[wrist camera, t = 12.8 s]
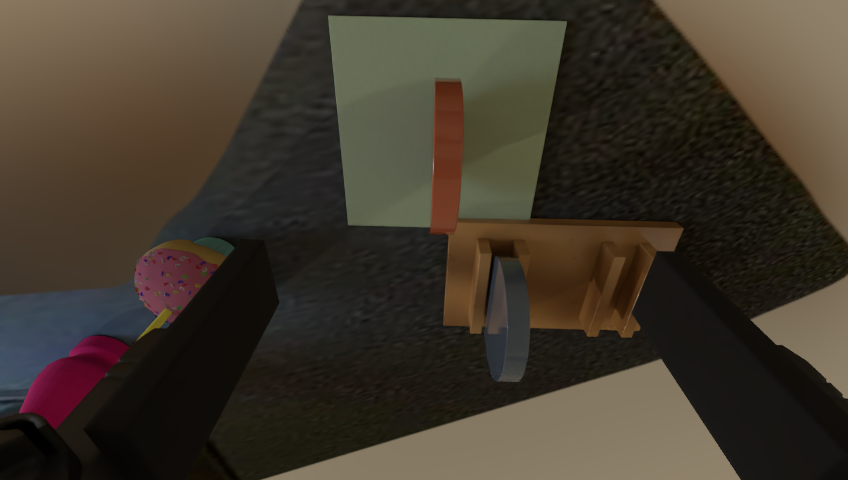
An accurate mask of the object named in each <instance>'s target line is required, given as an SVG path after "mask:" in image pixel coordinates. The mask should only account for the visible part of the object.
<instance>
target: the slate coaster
mask: <svg viewBox="0 0 848 480" xmlns="http://www.w3.org/2000/svg"><path fill="white" fill-rule="evenodd" d="M484 331H485V345H486V353H487V360H488V365H489V369H490V372H491V375H492V377H493V379H494V380H495V381H503V382H517V381H519V380H520V379H521V378H522V376H523V374H524V371H525V368H526V364H527V359H528V352H529V342H530V308H529V297H528V289H527V283H526V279H525V274H524V271H523V268H522V265H521V263H520V261H519V260H518V259H517V258H516V257H515V256H494V257H493V258H492V259H491V264H490V272H489V279H488V286H487V294H486V301H485V308H484Z"/></svg>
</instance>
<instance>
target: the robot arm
mask: <svg viewBox="0 0 848 480" xmlns="http://www.w3.org/2000/svg"><path fill="white" fill-rule="evenodd" d="M278 305H279V299H278V295H277V291H276V287H275V283H274V278H273V274H272V270H271V266H270V262H269V258H268V254H267V249H266V245H265V241H264V240H241V241H240V242H239V243H238V244H237V246H236V247H235V248H234V249H233V250H232V252H231V253H230V254H229V255H228V256H227V258H226V259H225V260H224V261H223V262H222V264H221V265H220V266H219V267H218V268H217V269H216V271H215V272H214V273H213V274H212V275H211V277H210V278H209V279H208V280H207V281H206V283H205V284H204V285H203V286H202V287H201V289H200V290H199V291H198V292H197V293H196V295H195V296H194V297H193V298H192V299H191V301H190V302H189V303H188V304H187V305H186V307H185V308H184V309H183V310H182V311H181V313H180V314H179V315H178V316H177V317H176V319H175V320H174V321H173V322H172V323H171V325H170V326H169V327H168V328H167V329H164V328H154V329H153V330H151V331H150V332H148V333H147V334H145V335H144V336H142V337H141V338H140V339H138V340H137V341H135V342H134V343H133V344H132V345H131V346H130V347H129V348H128V349H127V350H126V352H125V353H124V354H123V355H122V356H121V357H120V358H119V359H118V363H115V364H114V365H113V366H112V367H111V368H110V369H109V370H108V372H107V373H106V375H105V377H104V378H101V379H100V380H99V382H98V383H97V384H96V385H95V386H94V387H93V388H92V389H91V390H90V391H89V393H88V394H87V395H86V396H85V397H84V398H83V399H82V400H81V401H80V403H79V404H78V405H77V406H76V407H75V408H74V409H73V410H72V411H71V413H70V414H69V415H68V416H67V417H66V418H65V419H64V420H63V421H62V423H61V424H60V425H59V426H58V427H57V428H56V429H54V428H53V427H52V426H51V425H50V424H49V422H48V421H47V420H46V419H45V418H44V417H43V416H41V415H39V414H36V413H34V412H29V413H17V414H14V415H11V416H8V417H5V418H2V419H0V480H187V478H188V476H189V474H190V472H191V470H192V469H193V467H194V465H195V463H196V461H197V459H198V457H199V455H200V453H201V451H202V449H203V448H204V446H205V444H206V442H207V440H208V438H209V436H210V434H211V432H212V430H213V428H214V427H215V425H216V423H217V421H218V419H219V417H220V415H221V413H222V411H223V409H224V408H225V406H226V404H227V402H228V400H229V398H230V396H231V394H232V392H233V390H234V388H235V387H236V385H237V383H238V381H239V379H240V377H241V375H242V373H243V371H244V369H245V368H246V366H247V364H248V362H249V360H250V358H251V356H252V354H253V352H254V350H255V348H256V347H257V345H258V343H259V341H260V339H261V337H262V335H263V333H264V331H265V329H266V327H267V326H268V324H269V322H270V320H271V318H272V316H273V314H274V312H275V310H276V308H277V307H278ZM631 313H632V315H633V316H634V318H635V320H636V321H637V323H638V324H639V326H640V327H641V329H642V330H643V332H644V333H645V335H646V336H647V338H648V339H649V341H650V342H651V344H652V345H653V347H654V348H655V350H656V351H657V353H658V354H659V356H660V357H661V359H662V361H663V362H664V363H665V365H666V367H667V368H668V369H669V371H670V372H671V374H672V376H673V377H674V379H675V380H676V382H677V383H678V385H679V386H680V388H681V389H682V391H683V392H684V394H685V395H686V397H687V398H688V400H689V401H690V403H691V405H692V406H693V408H694V409H695V411H696V412H697V414H698V415H699V417H700V418H701V420H702V421H703V423H704V424H705V426H706V427H707V429H708V430H709V432H710V433H711V435H712V436H713V438H714V439H715V441H716V442H717V444H718V446H719V447H720V449H721V450H722V452H723V453H724V455H725V456H726V458H727V459H728V461H729V462H730V464H731V465H732V467H733V468H734V470H735V471H736V473H737V474H738V476H739V477H740V479H741V480H848V399H845V398H843V397H842V393H841V392H839V391H838V390H837V389H836V388H835V387H834V386H833V385H832V384H831V383H827V382H826V379H825V378H824V377H823V376H822V375H821V374H820V373H819V372H818V371H817V370H816V369H815V368H814V367H813V366H812V365H811V364H809V363H808V362H807V361H806V360H804V359H803V358H801V357H800V356H798V355H797V354H795V353H793V352H792V351H791V350H789V349H787V348H786V347H784V346H783V345H776V344H775V343H774V342H773V341H772V340H771V339H770V338H769V337H768V336H766V335H765V334H764V333H763V332H762V331H761V330H760V329H759V328H758V327H757V326H756V325H755V324H754V323H753V322H752V321H751V320H750V319H749V318H748V317H747V316H746V315H745V314H744V313H743V312H742V311H741V310H740V309H739V308H738V307H737V306H736V305H735V304H734V303H733V302H731V301H730V300H729V299H728V298H727V297H726V296H725V295H724V294H723V293H722V292H721V291H720V290H719V289H718V288H717V287H716V286H715V285H714V284H713V283H712V282H711V281H710V280H709V279H708V278H707V277H706V276H705V275H704V274H703V273H702V272H701V271H700V270H699V269H697V268H696V267H695V266H694V265H693V264H692V263H691V262H690V261H689V260H688V259H687V258H686V257H685V256H684V255H683V254H682V253H681V252H677V251H657V252H656V255H655V257H654V259H653V262H652V264H651V266H650V269H649V271H648V274H647V276H646V278H645V281H644V283H643V286H642V288H641V290H640V293H639V295H638V298H637V300H636V302H635V305H634V307H633V309H632V312H631Z"/></svg>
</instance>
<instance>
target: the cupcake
mask: <svg viewBox="0 0 848 480" xmlns="http://www.w3.org/2000/svg"><path fill="white" fill-rule="evenodd" d="M234 248H235V247H233V246H232V245H231V244H230V243H228V242H226V241H224V240H222V239H219V238H214V237H206V238H201V239H199V240H196V241H194V242H192V241H190V240H172V241H168V242H165V243H162V244H160V245H158V246H156V247H154V248H153V249H151V250H149V251H148V252H147V253H145V255H144V256H143V257H141V258H140V259H139V260H138V261H137V267H136V269H135V277H134V280H135V281H134V282H135V283H134V285H135V287H137V288H136V291H137V292H139V293H138V295H140V296H139V299H140V300H142V301H143V303H144V304H145V305H144V306H145V307H146V308H148V309H149V310H150V311H151V312H152V313H154V314H156V315H155V316H156V317H157V318H156V319H155V320H154V321H153V322H152V324H151V325H150V326H149V327H148V328H147V329H146V330H145V331H144V332H143V334H142V335H141V336H140V337H139V338H138V339H140V338H141V337H142V336H144V335H145V334H147V333H148V332H150V331H151V330H153V329H154V328H160V327H161V326H162V325H163V323H164V322H165V321H166V322H169V323H172V322H173V321H174V320H175V319H176V317H177V316H178V315H179V314H180V313H181V311H182V310H183V309H184V308H185V307H186V305H187V304H188V303H189V302H190V301H191V299H192V298H193V297H194V296H195V295H196V293H197V292H198V291H199V290H200V289H201V287H202V286H203V285H204V284H205V283H206V281H207V280H208V279H209V278H210V277H211V275H212V274H213V273H214V272H215V271H216V269H217V268H218V267H219V266H220V265H221V264H222V262H223V261H224V260H225V259H226V258H227V256H228V255H229V254H230V253H231V252H232V250H233V249H234ZM138 339H137V340H138ZM137 340H136V341H137Z"/></svg>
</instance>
